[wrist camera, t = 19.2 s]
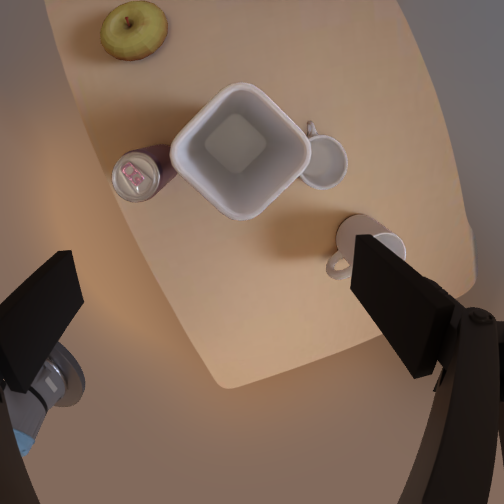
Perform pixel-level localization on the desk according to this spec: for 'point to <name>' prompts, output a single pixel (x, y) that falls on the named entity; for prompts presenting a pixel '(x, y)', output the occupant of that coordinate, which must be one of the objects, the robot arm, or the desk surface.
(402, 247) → the mug
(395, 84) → the desk surface
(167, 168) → the beverage can
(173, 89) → the desk surface
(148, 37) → the apple
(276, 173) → the cup
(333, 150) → the teacup
